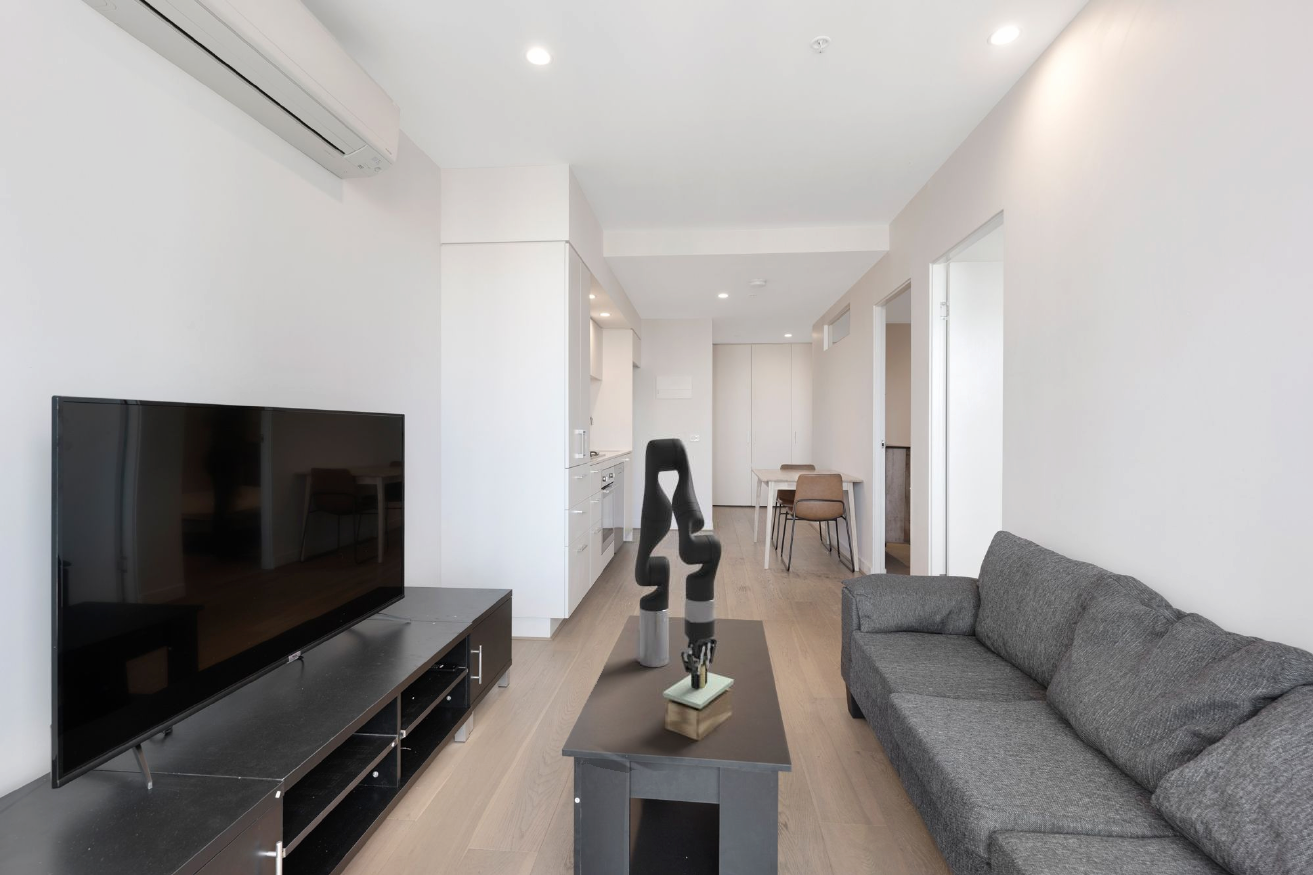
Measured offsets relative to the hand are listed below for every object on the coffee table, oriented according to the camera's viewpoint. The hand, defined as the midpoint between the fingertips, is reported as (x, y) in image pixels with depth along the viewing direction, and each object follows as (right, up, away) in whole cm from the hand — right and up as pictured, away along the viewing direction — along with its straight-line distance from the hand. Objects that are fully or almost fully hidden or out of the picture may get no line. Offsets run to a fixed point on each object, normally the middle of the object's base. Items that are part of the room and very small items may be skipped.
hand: (699, 685), depth 139 cm
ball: (+2, -9, +3) cm, 9 cm away
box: (0, -10, 0) cm, 10 cm away
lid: (0, -1, 0) cm, 1 cm away
